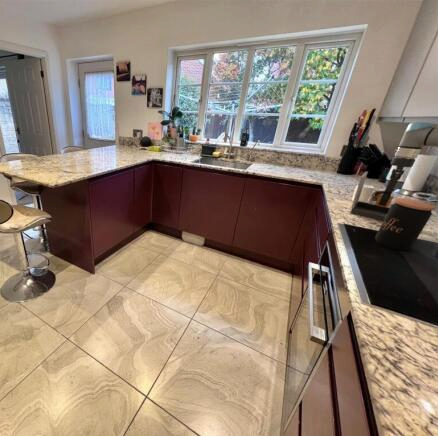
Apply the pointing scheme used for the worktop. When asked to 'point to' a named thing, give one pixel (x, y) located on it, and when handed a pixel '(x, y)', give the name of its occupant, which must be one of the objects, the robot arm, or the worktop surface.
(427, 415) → the worktop surface
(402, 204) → the coffee jar
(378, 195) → the coffee pod
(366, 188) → the white cup
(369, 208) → the drip tray
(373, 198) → the pottery mug
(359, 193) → the brew lid
